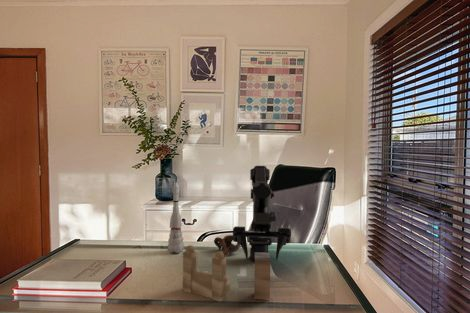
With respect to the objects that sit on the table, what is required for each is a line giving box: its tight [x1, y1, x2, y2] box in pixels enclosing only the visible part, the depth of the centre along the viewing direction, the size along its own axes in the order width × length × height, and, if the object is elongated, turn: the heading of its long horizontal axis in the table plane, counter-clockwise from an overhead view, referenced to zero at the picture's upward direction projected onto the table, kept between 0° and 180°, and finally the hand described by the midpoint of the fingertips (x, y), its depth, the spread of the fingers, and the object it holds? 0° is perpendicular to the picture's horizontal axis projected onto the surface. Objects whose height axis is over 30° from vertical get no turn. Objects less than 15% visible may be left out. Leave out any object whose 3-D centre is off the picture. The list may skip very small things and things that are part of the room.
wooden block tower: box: [182, 245, 231, 302], centre depth 101 cm, size 8×14×14 cm, turn 59°
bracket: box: [253, 252, 271, 299], centre depth 97 cm, size 5×5×13 cm
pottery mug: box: [213, 234, 242, 256], centre depth 139 cm, size 12×10×8 cm
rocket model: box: [167, 182, 185, 254], centre depth 139 cm, size 7×7×30 cm
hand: (261, 259), depth 101 cm, fingers open, 9 cm apart
